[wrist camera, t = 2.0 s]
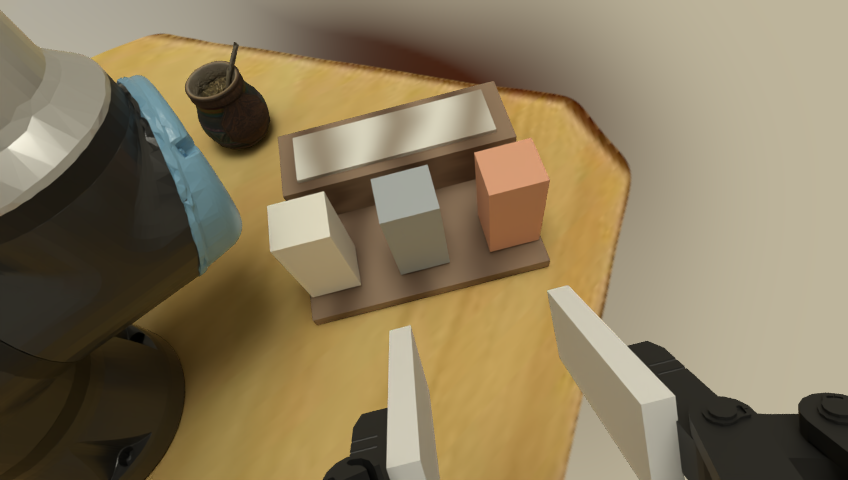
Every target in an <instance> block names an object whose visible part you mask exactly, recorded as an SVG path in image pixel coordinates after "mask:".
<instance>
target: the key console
mask: <svg viewBox="0 0 848 480" xmlns="http://www.w3.org/2000/svg"><path fill="white" fill-rule="evenodd" d="M513 142H516V134H515V132H514V129H513V127H512V124H511V122H510V120H509V117H508V115H507V112H506V110H505V107H504V105H503V103H502V100H501V98H500V95H499V93H498V90H497V88H496V86H495V83H494V81H492V82H488V83H484V84H480V85H476V86H472V87H469V88H465V89H461V90H457V91H453V92H449V93H445V94H442V95H438V96H434V97H430V98H426V99H422V100H418V101H415V102H411V103H407V104H403V105H399V106H395V107H392V108H388V109H384V110H380V111H376V112H372V113H368V114H365V115H361V116H357V117H353V118H349V119H345V120H341V121H338V122H334V123H330V124H326V125H322V126H318V127H315V128H311V129H307V130H303V131H299V132H295V133H291V134H288V135H284V136H280V137H278V143H279V155H280V167H281V178H282V190H283V197H284V199H285V200H286V201H288V200H292V199H296V198H300V197H304V196H308V195H312V194H315V193H319V192H323V191H324V192H325V194H326V196H327V198H328V199H329V201H330V203H331V205H332V206H333V208H334V210H335V212H336V214H337V215H338V217H339V219H340V221H341V222H342V224H343V226H344V228H345V229H346V231H347V233H348V235H349V236H350V238H351V240H352V242H353V244H354V245H355V250H356V256H357V262H358V268H359V274H360V280H361V285H360V286H356V287H352V288H348V289H344V290H340V291H336V292H332V293H328V294H324V295H321V296H317V297H312V296H311V295H310V299H311V308H312V318H313V321H314V322H315V323H316V324H317V325H319V324H323V323H327V322H331V321H335V320H339V319H343V318H347V317H351V316H355V315H359V314H363V313H367V312H370V311H374V310H378V309H382V308H386V307H390V306H394V305H398V304H402V303H406V302H410V301H414V300H417V299H421V298H425V297H429V296H433V295H437V294H441V293H445V292H449V291H453V290H457V289H461V288H465V287H468V286H472V285H476V284H480V283H484V282H488V281H492V280H496V279H500V278H504V277H508V276H512V275H516V274H519V273H523V272H527V271H531V270H535V269H539V268H543V267H547V266H549V262H550V259H549V257H548V254H547V251H546V249H545V246H544V244H543V241H542V239H541V236H540V237H539V240H536V241H532V242H528V243H524V244H520V245H516V246H512V247H508V248H504V249H500V250H497V251H493V252H490V250H489V247H488V244H487V241H486V238H485V235H484V232H483V229H482V226H481V223H480V220H479V216H478V209H477V192H476V174H475V157H474V152H478V151H482V150H486V149H490V148H494V147H498V146H501V145H505V144H509V143H513ZM424 165H428V168H429V172H430V175H431V179H432V182H433V186H434V190H435V193H436V197H437V200H438V204H439V208H440V212H441V218H442V223H443V228H444V233H445V239H446V244H447V249H448V254H449V260H450V263H446V264H442V265H438V266H434V267H430V268H426V269H422V270H418V271H414V272H411V273H407V274H403V275H401V273H400V271H399V269H398V266H397V264H396V262H395V259H394V257H393V255H392V252H391V250H390V247H389V245H388V243H387V240H386V238H385V236H384V233H383V231H382V229H381V226H380V224H379V219H378V214H377V209H376V204H375V199H374V194H373V189H372V184H371V179H374V178H377V177H381V176H385V175H389V174H393V173H397V172H401V171H405V170H408V169H412V168H416V167H420V166H424Z"/></svg>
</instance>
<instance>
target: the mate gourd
mask: <svg viewBox="0 0 848 480" xmlns="http://www.w3.org/2000/svg"><path fill="white" fill-rule="evenodd" d="M238 46H239V45H238V44H237V43H235V42H234V45H233V51H232V53H231V54H232V55H231V59H230V61H229V62H226V61H215V62H211V63H208V64H205V65H203V66H201V67H200V68H198V69H196V70H195V71H194V72H193V73H192V74H191V75H190V77H189V78H188V79H187V81H186V84H185V91H186V94H187V96H188V97H189V98H190V99H191V101H192V102H193V103H194V104H195V105H196V108H197V113H198V119H199V122H200V124H201V126H202V128H203V130H204V131H205V132H206V134H207V135H208V136H209V137H210V138H212V139H213V140H214V141H216V142H217V143H218V144H220V145H221V146H223V147H226V148H231V149H242V148H247V147H250V146H252V145H254V144H256V143H258V142H259V141H260V140H261V139H262V138H263V137H264V136H265V134H266V133H267V131H268V127H269V122H270V117H269V112H268V108H267V104H266V102H265V100H264V98H263V97H262V95H261V94H260V93H259V92H258V91H257V90H256V89H255V88H254V87H253V86H251V85H249V84H248V83H246V82H245V81H244V80H243V77H242V75H241V74H240V73H239V70H238V69H237V67H236V66H235V65H234V64H235V59H236V55H237V50H238Z"/></svg>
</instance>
